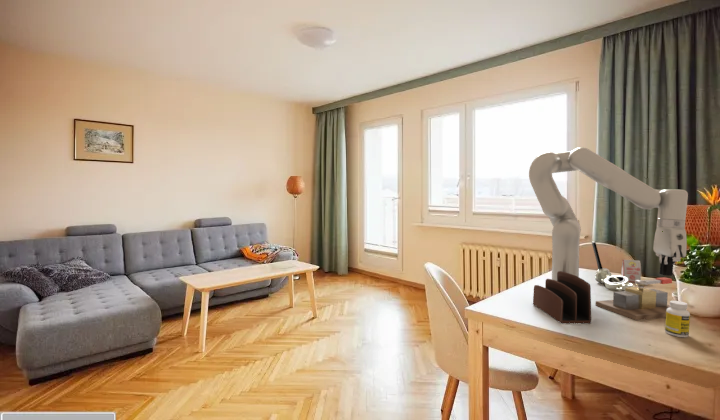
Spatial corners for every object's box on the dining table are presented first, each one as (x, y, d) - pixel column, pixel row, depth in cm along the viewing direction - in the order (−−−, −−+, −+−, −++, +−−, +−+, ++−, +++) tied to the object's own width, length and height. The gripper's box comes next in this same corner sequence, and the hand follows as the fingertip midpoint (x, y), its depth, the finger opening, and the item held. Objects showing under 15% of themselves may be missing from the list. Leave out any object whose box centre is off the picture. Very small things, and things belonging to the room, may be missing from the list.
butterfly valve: (638, 291, 151) (611, 277, 168) (627, 248, 149) (601, 238, 166) (617, 297, 152) (593, 283, 169) (606, 254, 149) (583, 244, 166)
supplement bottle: (682, 339, 105) (684, 306, 104) (661, 332, 110) (662, 301, 109) (692, 336, 107) (694, 303, 106) (671, 329, 112) (672, 298, 111)
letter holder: (558, 304, 137) (559, 268, 136) (591, 324, 117) (592, 281, 116) (532, 304, 137) (533, 268, 136) (560, 324, 117) (562, 281, 116)
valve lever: (641, 286, 127) (641, 281, 127) (632, 284, 130) (633, 279, 130) (672, 283, 131) (673, 279, 131) (663, 281, 134) (663, 277, 134)
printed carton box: (621, 279, 173) (621, 258, 173) (638, 280, 170) (639, 260, 170) (622, 281, 170) (623, 260, 169) (640, 282, 167) (641, 261, 166)
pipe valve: (627, 310, 125) (628, 289, 124) (611, 304, 131) (612, 284, 130) (669, 306, 128) (670, 286, 128) (651, 301, 135) (652, 281, 134)
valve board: (636, 320, 120) (636, 315, 120) (595, 305, 135) (595, 301, 135) (688, 315, 124) (688, 310, 124) (642, 301, 140) (643, 297, 140)
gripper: (699, 227, 119) (693, 281, 120) (667, 222, 134) (662, 270, 135) (674, 226, 120) (669, 279, 121) (645, 221, 135) (641, 269, 136)
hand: (665, 274), depth 128 cm, fingers closed
